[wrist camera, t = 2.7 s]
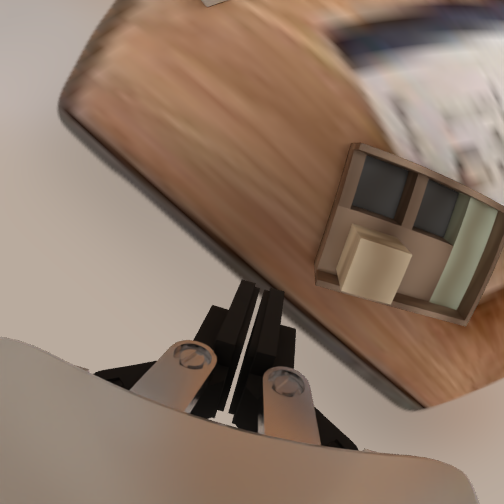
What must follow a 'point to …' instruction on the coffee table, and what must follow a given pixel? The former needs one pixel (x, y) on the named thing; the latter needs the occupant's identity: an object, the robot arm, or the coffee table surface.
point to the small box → (212, 2)
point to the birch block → (372, 264)
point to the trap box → (417, 232)
